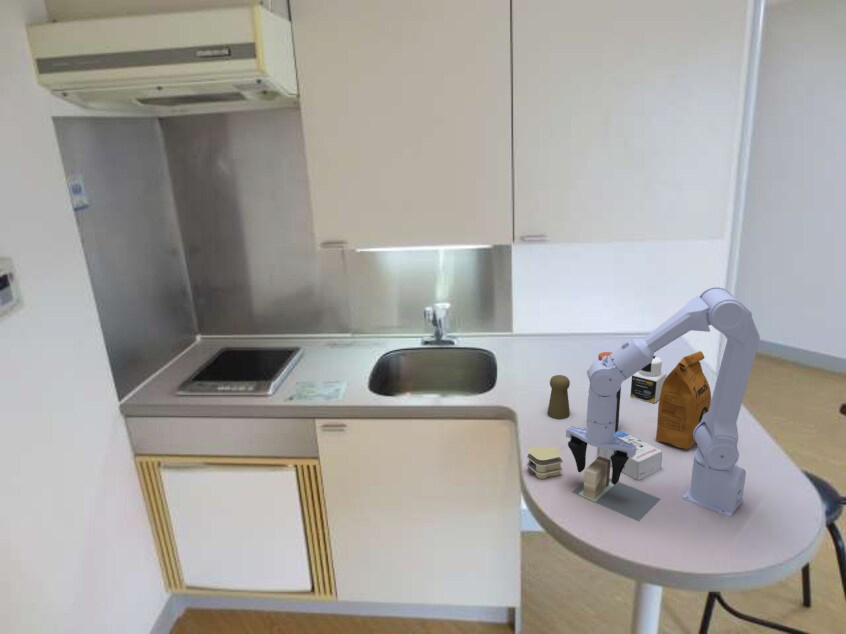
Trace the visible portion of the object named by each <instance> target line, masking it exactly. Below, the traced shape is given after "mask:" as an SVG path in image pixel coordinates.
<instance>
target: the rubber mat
mask: <svg viewBox="0 0 846 634" xmlns="http://www.w3.org/2000/svg"><path fill="white" fill-rule="evenodd" d="M583 492H584V481H583V482H581V484H579V485H578V486H577V487H575V488H574V489H573V490H572V491H571V493H573V494H575V495H577V496H580V497H582V498H584V499H586V500H589V501H592V502H593V503H596V504H598V505H601V506H603V507H605V508H607V509H609V510H612V511H614V512H616V513H619V514H621V515H623V516H625V517H628V518H630V519H633V520H634V521H637V522H640V521H641V520H642V519H643V518H644V517H645V516H646V515H647V514H648V513H649V512H650V511H651V510H652V509H653V508H654V507H655V506H656V505H657V503H659V501H661V498H660V497H657V496H655V495H652V494H650V493H647V492H645V491H642V490H639V489H637V488H636V487H633V486H629V485H628V484H625V483H622V482H620V481H618V482H617V483H616V484H615V485H614V484H612V478H611V477H610V478H609V485H608V486H607V487H606V488H605V489H604V490H603V491H602V492H601V493H600V494H599V495H598V496H597V497H596V498H595V499H592V498H589V497H587V496H584V495H583Z"/></svg>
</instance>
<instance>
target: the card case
mask: <svg viewBox="0 0 846 634" xmlns="http://www.w3.org/2000/svg"><path fill="white" fill-rule="evenodd" d="M610 463H611V460H610V459H607V458H604V457H601V456H599V457H598V458H595V460H593V461H592V463H590V464H589V466H587V468H586V467H585V469H584V473H583V482H584V492H583V495H584V496H587V497H589V498H592V499H595V498H596V497H597V496H598V495H599V494H600V493H601V492H602V491H603V490H604V489H605V488H606V487H607V486H608V485H609V478H610V479H611V477H610V476H611V475H610V473H611V466H610Z"/></svg>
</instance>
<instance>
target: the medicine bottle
mask: <svg viewBox="0 0 846 634" xmlns="http://www.w3.org/2000/svg"><path fill="white" fill-rule="evenodd" d="M662 363H663V361H662V358H660V357H659V356H657V355H653V360H652V362H651V363H650V364H648V365H647V366H645V367H644V368H642V369H641V370H639V371H638V372H636V373H635V374H633V375H632V376H631V381H630V383H631V385H630V398H631V399H632V398H633V399H636V400H641V401H643V402H647V403H650V404H651V403H652V404H656V403H657V402H658V401H659V400H660V394H661V389H662V386H663V382H664V380H665V379H666V377H667V372H664V371H662Z"/></svg>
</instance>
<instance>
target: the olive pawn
mask: <svg viewBox="0 0 846 634" xmlns="http://www.w3.org/2000/svg"><path fill="white" fill-rule="evenodd" d="M570 385H571V382H570V379H569V377H567V376H565V375H562V374H555V375H554V376H551V378H550V381H549V386H550V387H551V391H550V396H549V400H548V402H549V403H548V407H547V413H546V414H547V416H548V417H550V418H551V419H555V420H566V419H568V418H570V416H571V412H570V401H569V393H568V389H569V388H570Z"/></svg>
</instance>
